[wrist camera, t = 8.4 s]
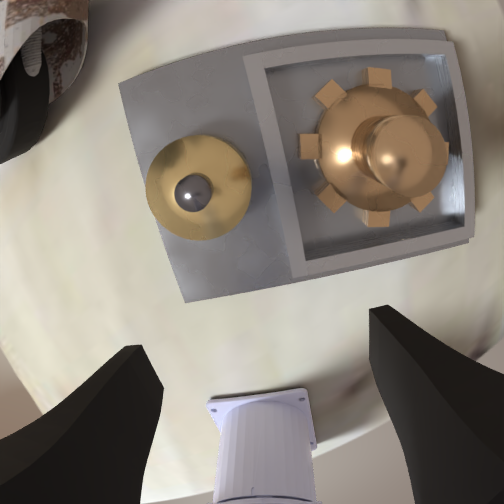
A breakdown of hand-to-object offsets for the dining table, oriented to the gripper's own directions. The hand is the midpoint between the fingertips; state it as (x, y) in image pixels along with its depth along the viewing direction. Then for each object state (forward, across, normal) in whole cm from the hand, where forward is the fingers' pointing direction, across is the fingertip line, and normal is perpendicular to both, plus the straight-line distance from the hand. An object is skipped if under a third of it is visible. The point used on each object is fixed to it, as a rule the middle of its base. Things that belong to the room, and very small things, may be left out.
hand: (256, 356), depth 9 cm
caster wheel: (+10, +11, -14) cm, 20 cm away
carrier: (+9, -4, -4) cm, 11 cm away
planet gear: (+8, -7, -4) cm, 12 cm away
